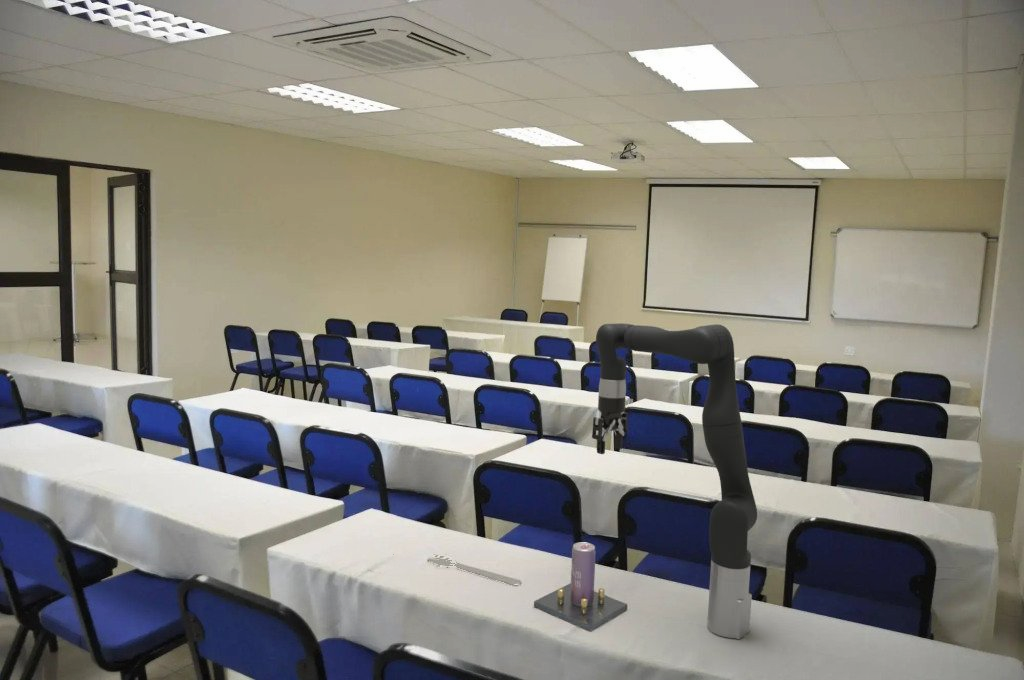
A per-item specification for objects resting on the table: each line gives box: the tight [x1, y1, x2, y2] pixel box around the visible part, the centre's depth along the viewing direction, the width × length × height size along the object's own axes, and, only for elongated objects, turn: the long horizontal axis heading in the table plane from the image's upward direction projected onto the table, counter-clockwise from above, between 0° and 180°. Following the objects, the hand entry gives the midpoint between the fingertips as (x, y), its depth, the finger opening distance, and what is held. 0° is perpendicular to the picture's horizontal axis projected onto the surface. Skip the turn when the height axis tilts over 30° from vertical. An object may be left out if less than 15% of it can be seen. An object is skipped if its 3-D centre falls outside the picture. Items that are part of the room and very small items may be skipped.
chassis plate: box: [533, 582, 629, 632], centre depth 188 cm, size 18×16×5 cm
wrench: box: [427, 554, 523, 587], centre depth 209 cm, size 8×32×1 cm, turn 59°
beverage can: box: [570, 541, 596, 607], centre depth 188 cm, size 6×6×15 cm
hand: (609, 451), depth 206 cm, fingers open, 8 cm apart
